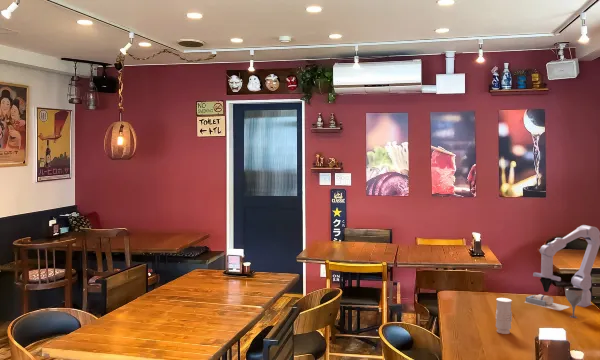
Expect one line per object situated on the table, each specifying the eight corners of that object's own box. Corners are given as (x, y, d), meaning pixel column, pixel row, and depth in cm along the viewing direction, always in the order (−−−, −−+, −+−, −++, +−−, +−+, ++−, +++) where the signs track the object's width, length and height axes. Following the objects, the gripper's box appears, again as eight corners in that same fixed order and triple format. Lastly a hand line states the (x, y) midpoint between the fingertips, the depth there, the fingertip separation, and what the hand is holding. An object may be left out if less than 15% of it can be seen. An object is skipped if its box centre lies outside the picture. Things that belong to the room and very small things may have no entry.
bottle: (553, 304, 283) (536, 300, 291) (553, 296, 283) (536, 292, 291) (548, 306, 281) (531, 301, 288) (548, 297, 280) (532, 293, 288)
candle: (509, 335, 235) (510, 302, 235) (493, 332, 239) (494, 300, 238) (512, 331, 241) (513, 299, 240) (497, 328, 245) (497, 297, 244)
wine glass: (584, 321, 257) (585, 291, 256) (567, 319, 258) (568, 290, 258) (579, 316, 265) (580, 287, 264) (562, 315, 266) (563, 286, 265)
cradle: (535, 299, 295) (535, 294, 295) (570, 308, 279) (570, 302, 279) (523, 303, 288) (523, 297, 288) (559, 311, 272) (559, 306, 272)
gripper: (530, 265, 287) (529, 289, 287) (556, 270, 275) (555, 295, 275) (537, 264, 291) (536, 288, 291) (563, 268, 279) (562, 293, 280)
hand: (546, 291), depth 284 cm, fingers closed
